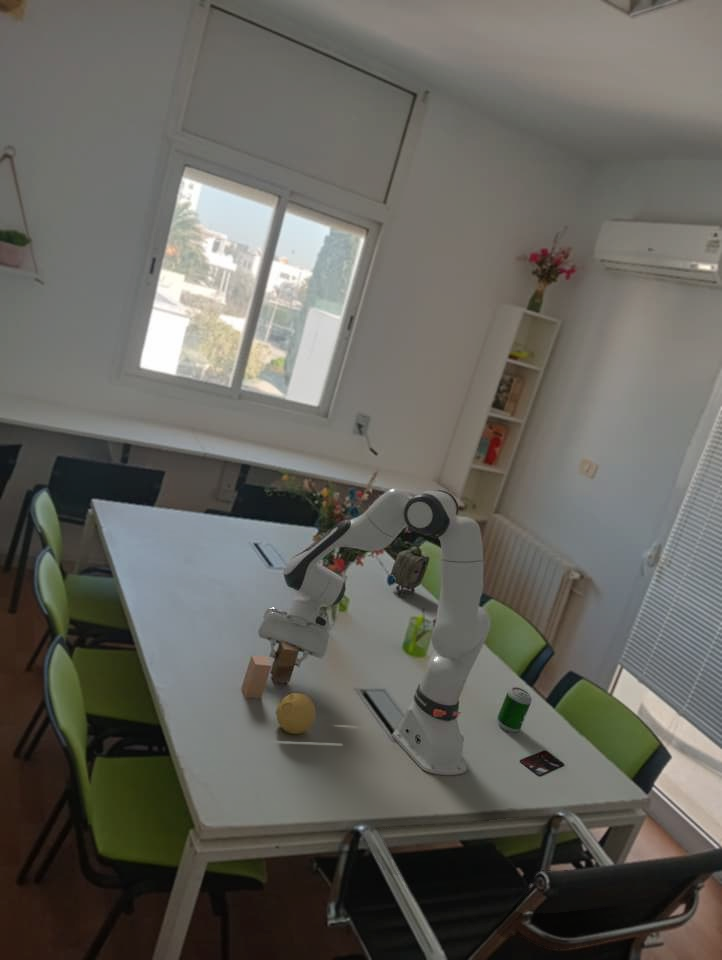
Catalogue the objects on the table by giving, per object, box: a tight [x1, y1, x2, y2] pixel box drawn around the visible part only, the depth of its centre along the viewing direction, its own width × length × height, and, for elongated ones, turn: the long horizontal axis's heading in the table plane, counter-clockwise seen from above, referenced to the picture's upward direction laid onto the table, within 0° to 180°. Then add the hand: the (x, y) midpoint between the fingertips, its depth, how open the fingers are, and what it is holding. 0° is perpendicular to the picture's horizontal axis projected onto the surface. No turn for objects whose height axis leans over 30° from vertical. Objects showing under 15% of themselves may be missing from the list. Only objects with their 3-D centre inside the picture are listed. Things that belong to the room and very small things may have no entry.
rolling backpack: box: [390, 537, 430, 597], centre depth 310 cm, size 14×9×25 cm, turn 148°
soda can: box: [496, 686, 533, 733], centre depth 226 cm, size 8×8×12 cm
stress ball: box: [275, 691, 316, 735], centre depth 188 cm, size 10×10×10 cm
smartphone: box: [519, 749, 565, 777], centre depth 212 cm, size 7×1×15 cm
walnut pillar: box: [269, 641, 300, 683], centre depth 209 cm, size 4×4×10 cm
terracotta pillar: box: [241, 655, 273, 700], centre depth 198 cm, size 4×4×10 cm
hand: (284, 661), depth 208 cm, fingers closed on walnut pillar, 6 cm apart
